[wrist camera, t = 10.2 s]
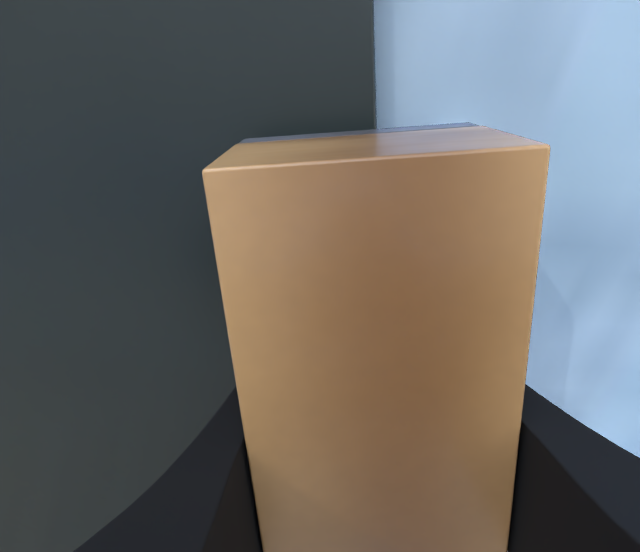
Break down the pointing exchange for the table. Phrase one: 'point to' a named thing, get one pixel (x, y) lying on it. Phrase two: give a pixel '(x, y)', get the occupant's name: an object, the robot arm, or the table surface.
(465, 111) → the table surface
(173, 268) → the slate board
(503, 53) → the table surface
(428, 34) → the table surface
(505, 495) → the eraser
